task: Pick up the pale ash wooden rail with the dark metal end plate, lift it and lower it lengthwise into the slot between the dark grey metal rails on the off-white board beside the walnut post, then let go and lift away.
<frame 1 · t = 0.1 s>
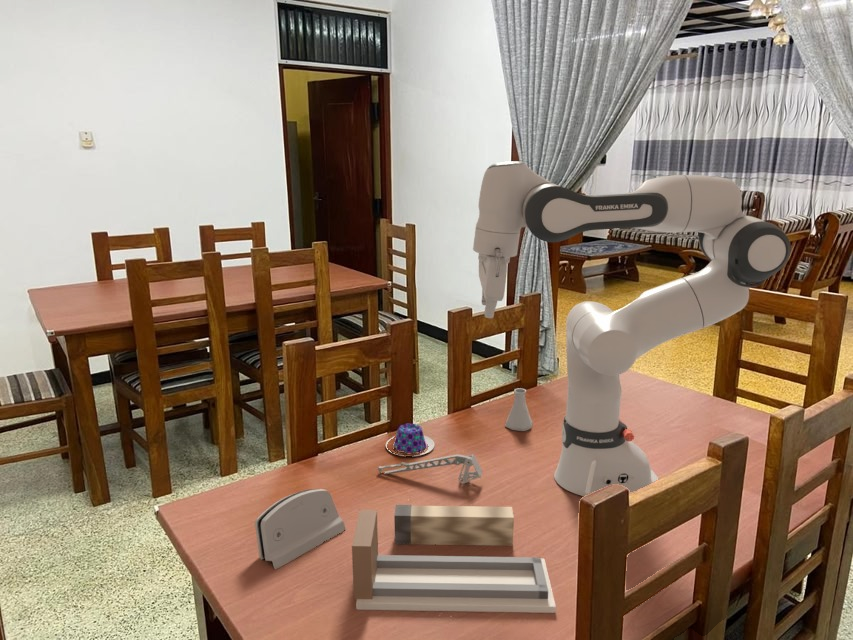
hand: (487, 310, 130), 39 cm above the table, tool pointing down, fingers open, 8 cm apart
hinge: (300, 541, 120), on the table
bracket: (429, 479, 142), on the table
pudding: (410, 448, 156), on the table
slot board: (454, 585, 108), on the table
flask: (518, 426, 167), on the table
bed rail: (453, 539, 120), on the table
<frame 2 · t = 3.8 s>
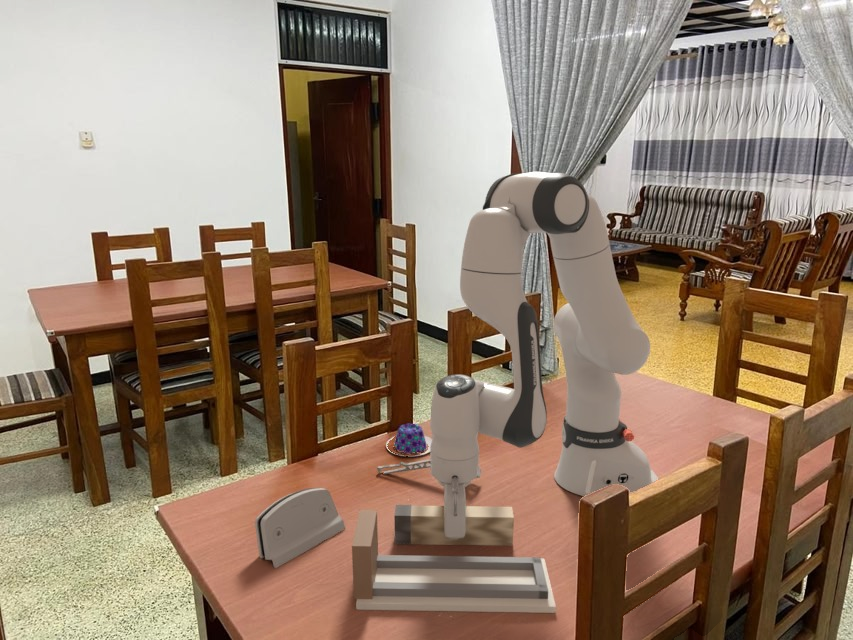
hand: (453, 529, 120), 2 cm above the table, tool pointing down, fingers closed on bed rail, 4 cm apart
bed rail: (453, 538, 120), on the table, touching gripper
everything else where it was.
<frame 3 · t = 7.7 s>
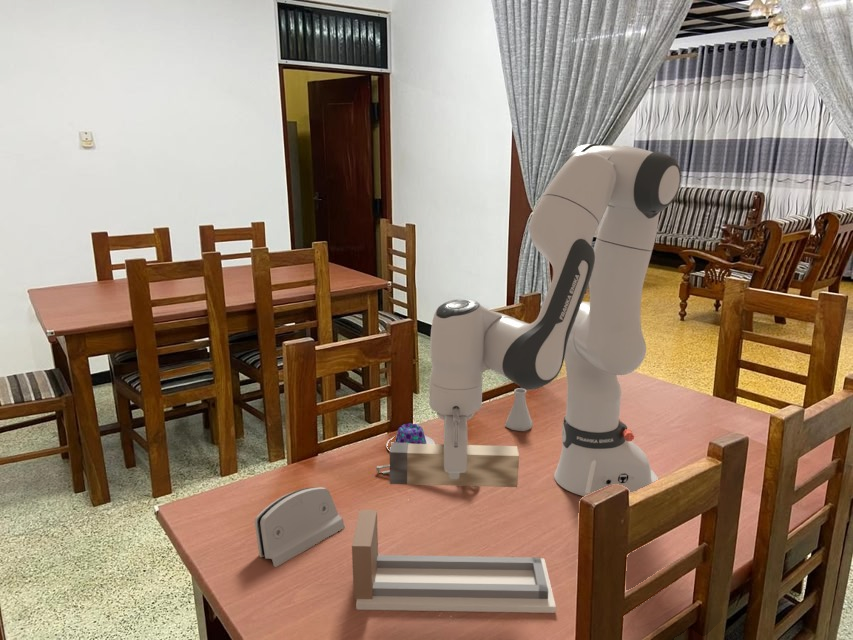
hand: (453, 469, 111), 18 cm above the table, tool pointing down, fingers closed on bed rail, 3 cm apart
bed rail: (453, 480, 111), point 15 cm above the table, touching gripper
everything else where it was.
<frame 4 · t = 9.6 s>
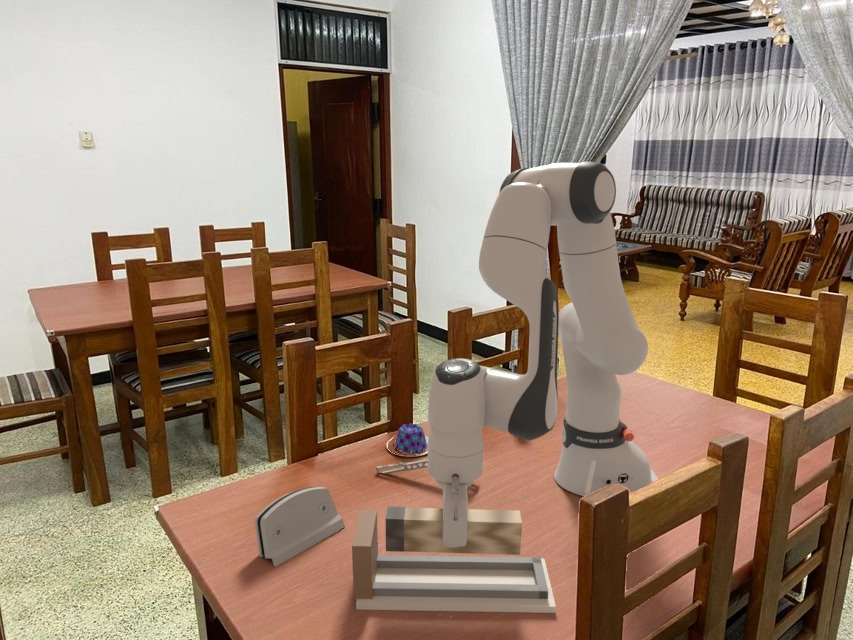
hand: (453, 535, 105), 10 cm above the table, tool pointing down, fingers closed on bed rail, 3 cm apart
bed rail: (452, 546, 106), point 8 cm above the table, touching gripper
everything else where it was.
when the fingers open (4 cm above the table, at t = 11.2 s): bed rail stays where it is, resting on slot board.
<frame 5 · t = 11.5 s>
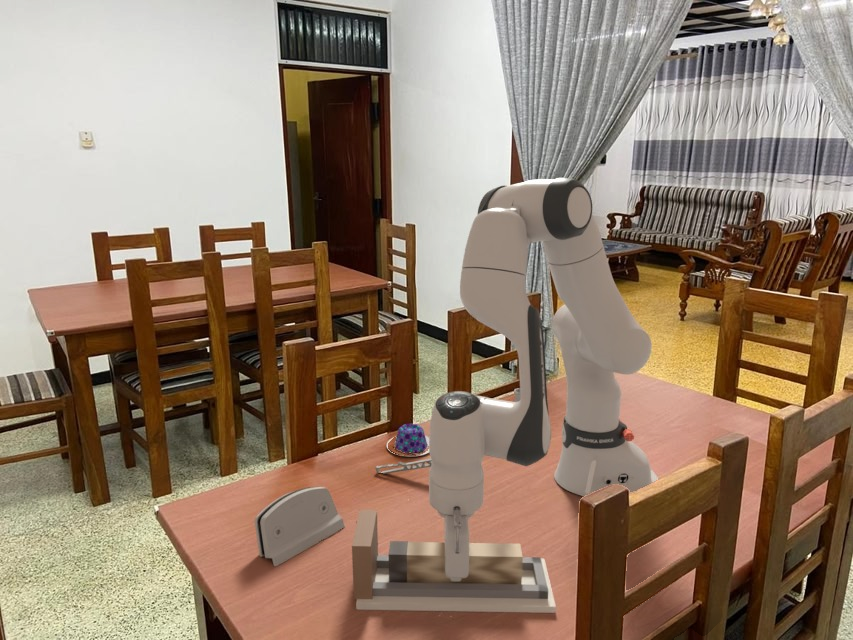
hand: (455, 564, 107), 4 cm above the table, tool pointing down, fingers open, 6 cm apart
bed rail: (454, 579, 108), point 1 cm above the table, touching slot board
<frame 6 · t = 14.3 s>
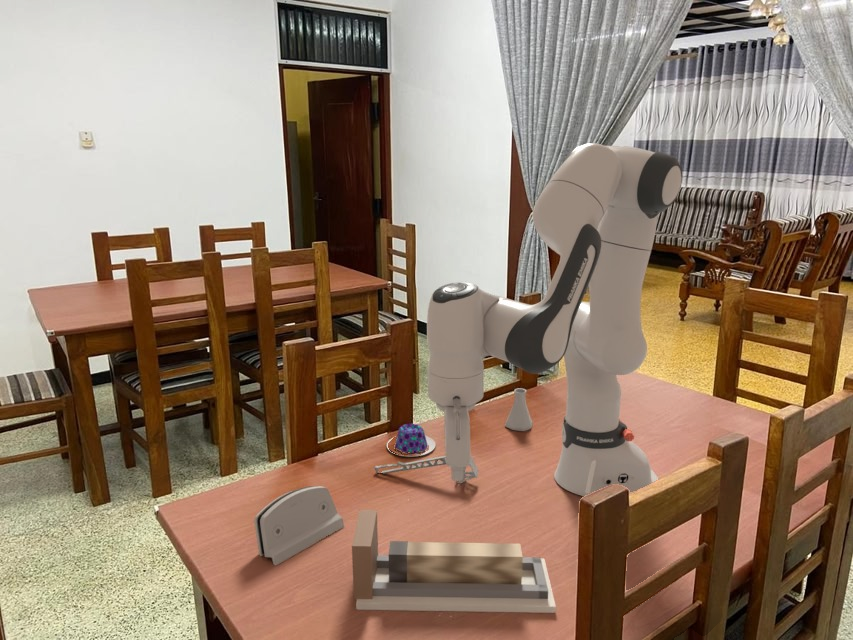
hand: (456, 463, 105), 22 cm above the table, tool pointing down, fingers open, 8 cm apart
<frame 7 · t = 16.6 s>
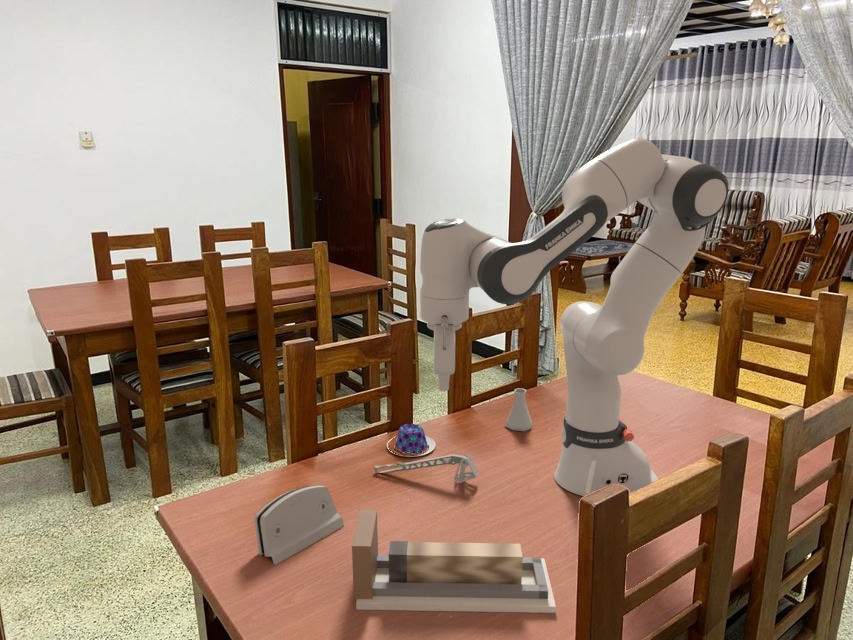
hand: (443, 379, 120), 29 cm above the table, tool pointing down, fingers open, 8 cm apart
at the end: bed rail inside the target area on the slot board (0.1 cm from its centre), point 1.2 cm above the slot board's base; bed rail tilted 0°; the gripper is holding nothing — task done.
